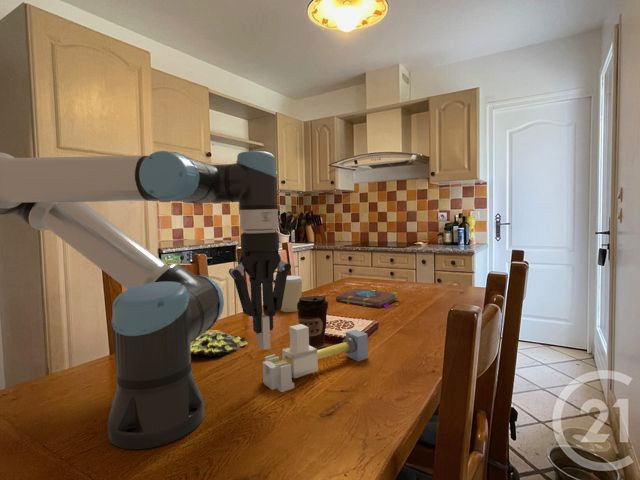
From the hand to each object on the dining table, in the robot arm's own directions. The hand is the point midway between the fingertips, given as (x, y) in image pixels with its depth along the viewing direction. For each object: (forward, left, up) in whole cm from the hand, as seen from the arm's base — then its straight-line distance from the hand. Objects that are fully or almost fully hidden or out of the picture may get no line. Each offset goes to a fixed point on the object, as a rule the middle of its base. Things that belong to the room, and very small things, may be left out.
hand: (264, 347), depth 74 cm
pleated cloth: (-2, +32, -9) cm, 33 cm away
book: (+66, +39, -9) cm, 77 cm away
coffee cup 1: (+35, +50, -9) cm, 61 cm away
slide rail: (+13, 0, -8) cm, 16 cm away
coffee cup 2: (+21, +13, -9) cm, 26 cm away
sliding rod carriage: (+8, 0, -7) cm, 11 cm away
